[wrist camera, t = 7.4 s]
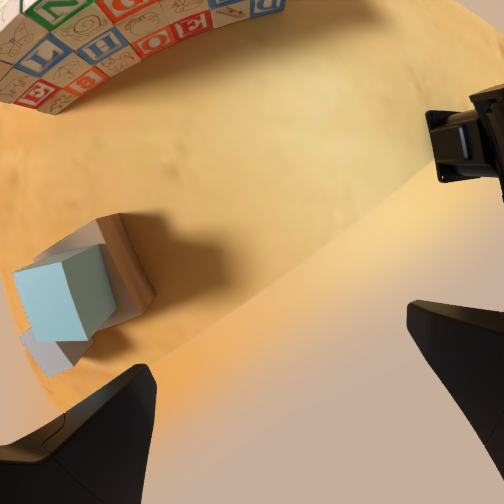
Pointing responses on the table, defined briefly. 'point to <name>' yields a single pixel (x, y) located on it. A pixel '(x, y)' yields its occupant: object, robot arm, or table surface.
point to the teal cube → (66, 294)
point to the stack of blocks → (96, 41)
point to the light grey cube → (54, 352)
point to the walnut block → (112, 265)
